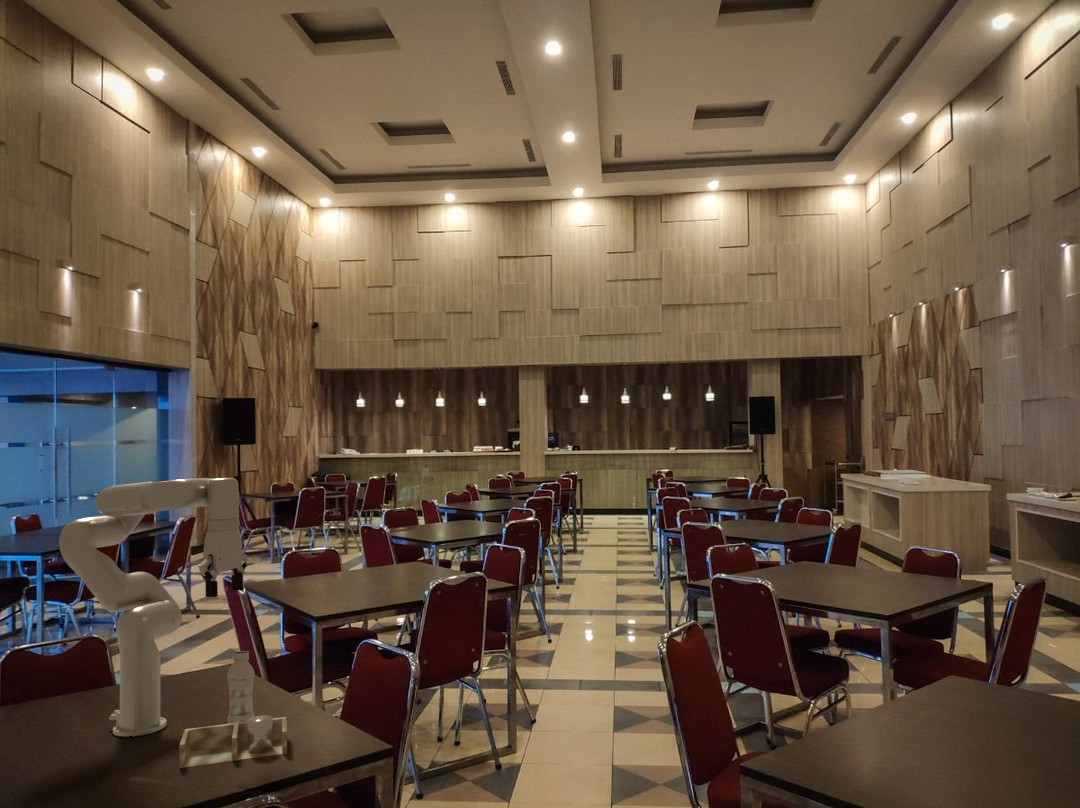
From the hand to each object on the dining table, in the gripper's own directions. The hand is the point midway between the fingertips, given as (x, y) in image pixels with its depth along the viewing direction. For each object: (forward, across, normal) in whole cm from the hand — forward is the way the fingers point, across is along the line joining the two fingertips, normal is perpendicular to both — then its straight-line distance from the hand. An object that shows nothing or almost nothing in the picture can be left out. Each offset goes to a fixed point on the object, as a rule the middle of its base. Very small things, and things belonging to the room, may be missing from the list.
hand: (224, 593), depth 203 cm
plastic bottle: (+36, -3, +2) cm, 36 cm away
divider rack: (+36, +11, +11) cm, 39 cm away
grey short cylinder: (+35, +8, +16) cm, 39 cm away
